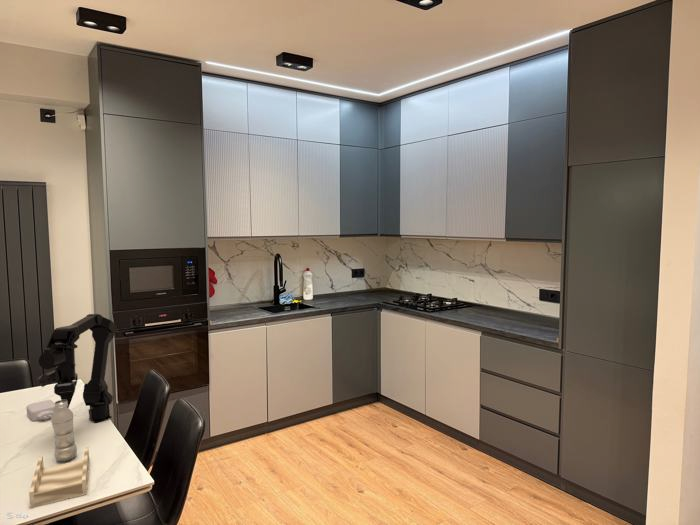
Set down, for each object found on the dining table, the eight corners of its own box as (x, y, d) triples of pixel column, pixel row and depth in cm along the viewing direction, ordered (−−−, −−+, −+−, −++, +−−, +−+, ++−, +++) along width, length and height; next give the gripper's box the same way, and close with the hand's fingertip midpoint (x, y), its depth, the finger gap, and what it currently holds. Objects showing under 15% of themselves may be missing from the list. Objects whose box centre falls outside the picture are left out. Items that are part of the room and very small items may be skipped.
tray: (40, 470, 161) (39, 457, 160) (89, 460, 167) (88, 447, 166) (30, 507, 140) (29, 492, 140) (86, 494, 146) (85, 479, 146)
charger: (35, 426, 195) (27, 416, 206) (61, 419, 201) (52, 409, 212) (34, 415, 195) (26, 404, 205) (61, 408, 201) (51, 398, 212)
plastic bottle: (82, 455, 170) (77, 398, 168) (64, 465, 163) (59, 406, 161) (67, 453, 172) (62, 397, 170) (50, 462, 166) (44, 404, 164)
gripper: (42, 360, 184) (44, 402, 185) (36, 370, 167) (37, 417, 168) (77, 357, 189) (78, 398, 189) (73, 366, 172) (75, 411, 173)
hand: (67, 406), depth 180 cm, fingers open, 9 cm apart
